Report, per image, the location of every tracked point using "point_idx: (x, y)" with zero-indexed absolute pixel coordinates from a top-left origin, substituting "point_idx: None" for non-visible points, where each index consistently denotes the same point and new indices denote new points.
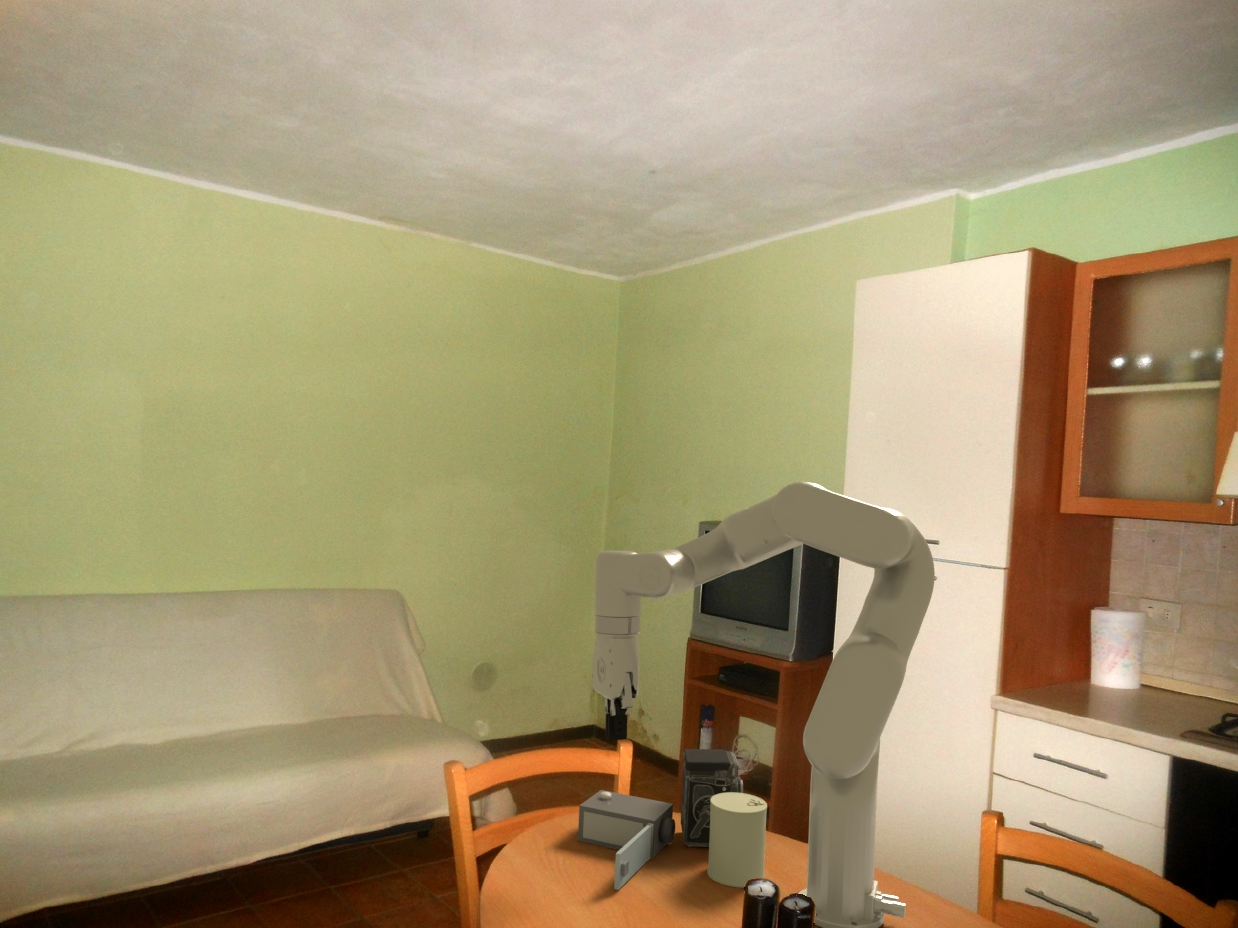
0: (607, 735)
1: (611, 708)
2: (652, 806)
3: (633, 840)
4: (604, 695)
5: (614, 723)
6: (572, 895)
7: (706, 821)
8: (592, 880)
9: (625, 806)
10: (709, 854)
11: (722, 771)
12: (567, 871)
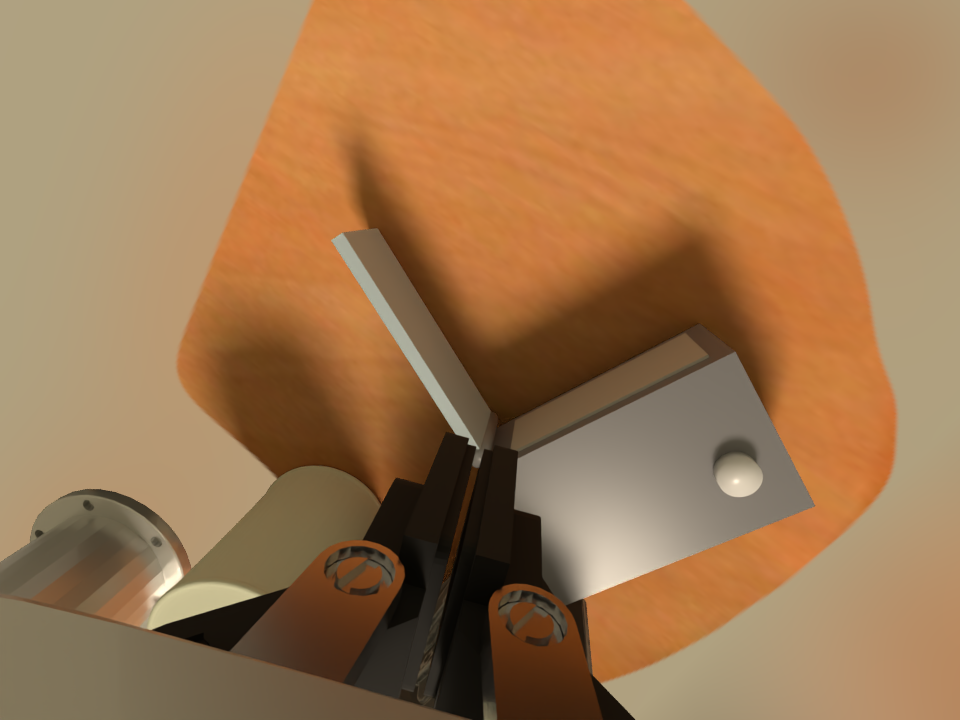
0: (484, 453)
1: (345, 603)
2: (578, 545)
3: (399, 339)
4: (195, 651)
5: (391, 526)
6: (406, 109)
7: (436, 604)
8: (455, 210)
9: (628, 478)
10: (333, 501)
11: None
12: (538, 177)
